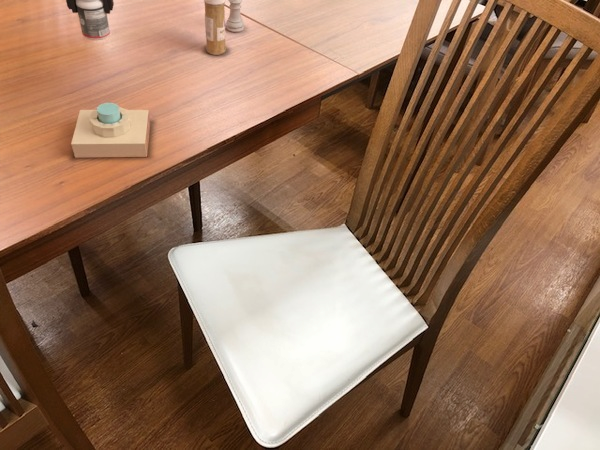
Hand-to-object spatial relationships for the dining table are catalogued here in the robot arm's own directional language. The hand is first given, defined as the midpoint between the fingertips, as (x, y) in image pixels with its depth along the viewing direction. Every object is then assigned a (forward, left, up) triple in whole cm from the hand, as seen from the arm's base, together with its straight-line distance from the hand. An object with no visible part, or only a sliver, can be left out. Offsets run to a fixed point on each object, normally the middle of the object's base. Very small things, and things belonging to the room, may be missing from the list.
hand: (91, 10), depth 88 cm
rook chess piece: (+27, +30, -17) cm, 43 cm away
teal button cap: (+3, -14, -12) cm, 19 cm away
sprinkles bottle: (+22, +18, -17) cm, 33 cm away
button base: (+3, -14, -17) cm, 22 cm away
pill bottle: (0, 0, -5) cm, 5 cm away
